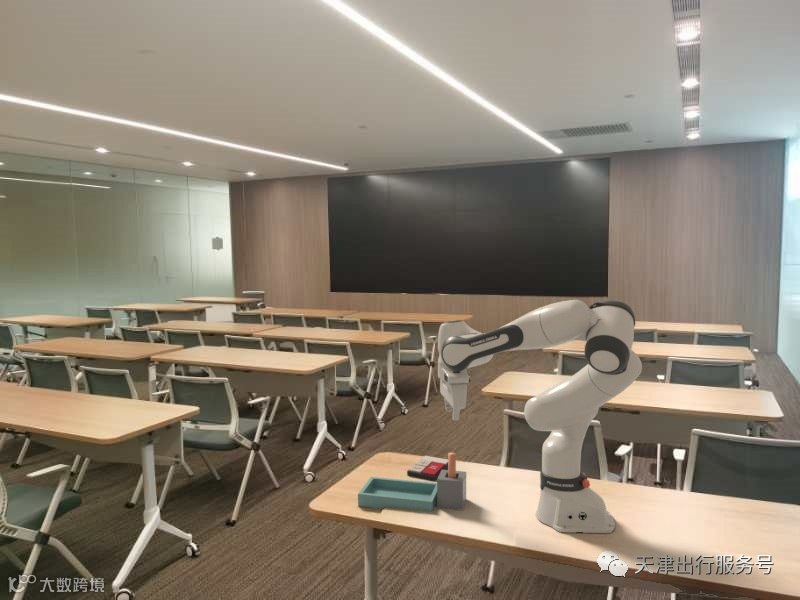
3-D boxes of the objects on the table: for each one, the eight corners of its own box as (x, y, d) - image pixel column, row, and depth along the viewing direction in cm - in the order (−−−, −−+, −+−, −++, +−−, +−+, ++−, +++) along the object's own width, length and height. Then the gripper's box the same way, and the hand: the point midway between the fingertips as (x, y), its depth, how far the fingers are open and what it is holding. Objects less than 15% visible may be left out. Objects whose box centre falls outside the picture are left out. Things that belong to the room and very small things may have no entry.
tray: (440, 495, 183) (440, 483, 182) (432, 514, 169) (432, 501, 169) (371, 488, 189) (371, 476, 188) (358, 506, 175) (357, 493, 175)
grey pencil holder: (466, 501, 178) (466, 471, 177) (462, 513, 170) (462, 481, 169) (441, 499, 180) (441, 469, 179) (437, 510, 172) (437, 479, 171)
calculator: (406, 469, 197) (424, 453, 210) (406, 480, 197) (424, 464, 210) (434, 474, 191) (451, 458, 205) (435, 486, 192) (451, 469, 205)
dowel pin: (456, 501, 175) (456, 452, 174) (455, 505, 173) (455, 455, 172) (448, 500, 176) (448, 452, 175) (447, 504, 174) (447, 454, 172)
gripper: (435, 365, 181) (435, 406, 182) (449, 379, 161) (449, 425, 162) (454, 365, 182) (454, 406, 183) (470, 378, 162) (470, 424, 163)
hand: (452, 415), depth 172 cm, fingers open, 8 cm apart
